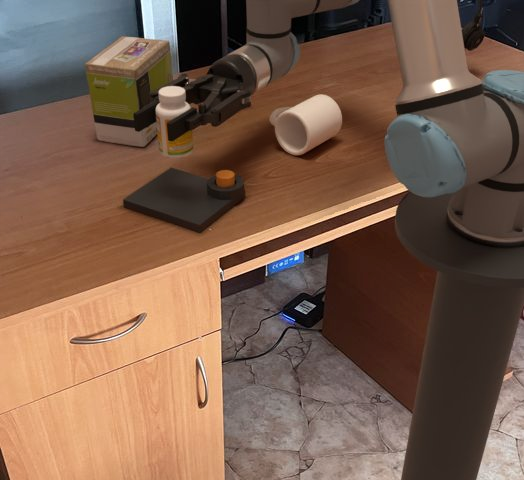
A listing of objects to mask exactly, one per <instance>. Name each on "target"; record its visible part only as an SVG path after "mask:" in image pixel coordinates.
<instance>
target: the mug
mask: <svg viewBox="0 0 524 480" xmlns="http://www.w3.org/2000/svg"><path fill="white" fill-rule="evenodd" d="M269 123H270V124H271V125H272V126H273V127H274V133H275V138H276V140H277V142H278V144H279V146H280V147H281V149H283V150H284V151H285V152H287V154H290V155H292V156H302V155H304V154H306V153H307V152H309V151H311V150H313V149H314V148H316V147H318V146H320V145H322V144H323V143H324V142H326V141H328V140H329V139H331V138H333V137H335V136H337V134H338V133H339V132H340V131H341V128H342V125H343V115H342V111H341V108H340V106H339V105H338V103H337V102H336V101H335V99H333V98H332V97H331V96H329V95H326V94H323V93H321V94H315V95H314V96H312V97H309V98H307V99H306V100H304V101H302V102H300V103H298V104H296V105H294V106H285V107H279V108H276V109H275V110H273V111H272V112H271V114H270V116H269Z"/></svg>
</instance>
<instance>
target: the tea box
mask: <svg viewBox="0 0 524 480" xmlns="http://www.w3.org/2000/svg"><path fill="white" fill-rule="evenodd" d="M171 55H172V54H171V45H170V40H165V39H164V40H163V39H153V38H146V37H145V38H143V37H134V36H126V35H121V37H119V38H118V39H116V40H115V41H114V42H113V43H111V44H110V45H109V46H107V47H106V48H104V49H103V50H102V51H100V52H99V53H98V54H96V55H95V56H94V57H92V58H91V59H90V60H89V61H87V62H86V63H85V73H86V80H87V85H88V91H89V98H90V103H91V109H92V115H93V121H94V129H95V134H96V139H97V140H98V141H100V142H105V143H111V144H118V145H126V146H131V147H139V148H144V147H146V146H147V145H148V144H149V143H150V142H151V141H152V140H153V139H154V138H155V137H156V136H158V135H157V123H156V122H155V123H153V124H152V125H150V126H148V127H146V128H145V129H143V130H141V131H140V132H137V131H135V126H134V116H133V113H135V112H137V111H139V110H140V109H142V108H143V107H144V106H146V105H148V104H150V98H149V93H150V92H152V91H154V90H156V89H158V88H159V87H161V86H163V85H165V84H167V83H169V82H171V81H173V80H174V74H173V64H172V56H171Z"/></svg>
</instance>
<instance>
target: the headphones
mask: <svg viewBox="0 0 524 480" xmlns="http://www.w3.org/2000/svg"><path fill="white" fill-rule="evenodd" d="M477 1H478V3H477V4H478V13H475V14H474V18H473V20H471V21H470V22H469V23H468V22H467V24H466V25H464V26H463V27H462V28H461V30H462V37H463V43H464V49H465V51H466V50H467V51H468V52H471V51H474V50H476V49H478V48H479V46H480V45H481V44H482V43H483V41H484V39H485V36H486V33H485V30H483V27H482V26H481V24H482V22H483V19H484V14H483V10H484V7H485V3H486V2H485V1H483V3H482V0H477Z"/></svg>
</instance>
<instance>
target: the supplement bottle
mask: <svg viewBox="0 0 524 480" xmlns="http://www.w3.org/2000/svg"><path fill="white" fill-rule="evenodd" d="M185 100H186V93H185V89H183V88H182V87H178V86H168V87H164V88H161V89H160V90H159V101H160V103H159V104H158V105H157V107H156V123H157V135H156V136H157V145H158V151H159V154H160V155H161V156H163V157H165V158H169V159H182V158H186V157H188V156H190V155H191V154H192V153H193V152H194V136H193V135H194V133H193V130H191V131H188V132H187V133H185V134H183V135H182V136H180V137H179V138H177V139H176V140H174V141H168V134H167V122H169V121H171V120H172V119H174V118H176V117H177V116H179V115H181V114H182V113H184V112H186V111H187V110H189V109H191V108H192V107H191V104H188V103H187V102H185Z"/></svg>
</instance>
